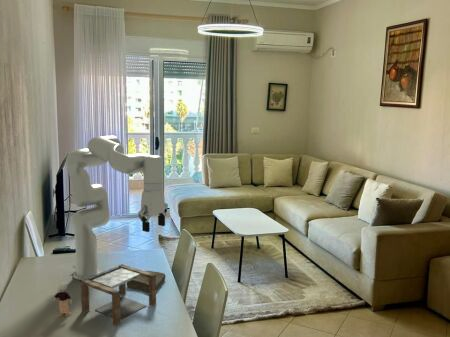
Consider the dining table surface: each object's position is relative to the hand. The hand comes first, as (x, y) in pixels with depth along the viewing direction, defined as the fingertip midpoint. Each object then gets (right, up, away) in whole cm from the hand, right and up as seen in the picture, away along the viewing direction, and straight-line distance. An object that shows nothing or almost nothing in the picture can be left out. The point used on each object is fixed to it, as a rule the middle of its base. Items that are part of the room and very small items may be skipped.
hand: (154, 228), depth 172 cm
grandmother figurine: (-33, -32, -8) cm, 47 cm away
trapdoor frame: (-13, -31, -2) cm, 34 cm away
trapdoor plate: (-15, -20, -2) cm, 25 cm away
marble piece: (-7, -29, +20) cm, 36 cm away
